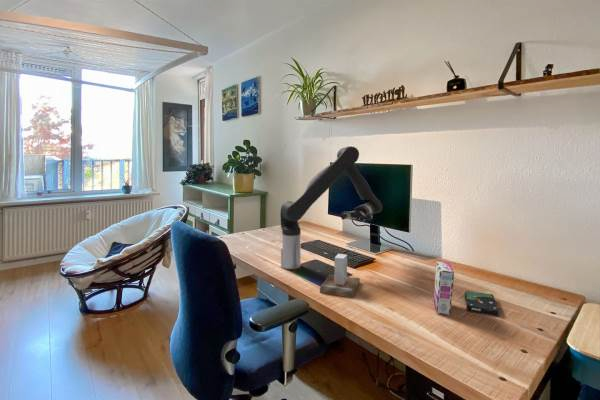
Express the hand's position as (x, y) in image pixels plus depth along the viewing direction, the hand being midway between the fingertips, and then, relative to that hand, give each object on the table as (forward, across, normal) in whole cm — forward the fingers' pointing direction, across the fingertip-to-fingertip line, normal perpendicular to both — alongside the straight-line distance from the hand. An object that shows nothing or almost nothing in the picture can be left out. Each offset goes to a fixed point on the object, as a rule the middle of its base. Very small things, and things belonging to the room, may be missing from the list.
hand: (351, 218), depth 148 cm
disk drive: (+2, +54, +29) cm, 61 cm away
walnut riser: (+13, +1, +28) cm, 31 cm away
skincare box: (+13, 0, +26) cm, 29 cm away
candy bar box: (+12, +41, +28) cm, 51 cm away
